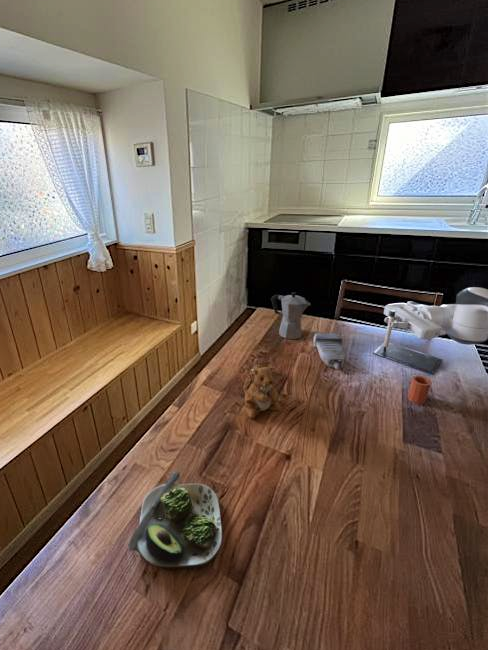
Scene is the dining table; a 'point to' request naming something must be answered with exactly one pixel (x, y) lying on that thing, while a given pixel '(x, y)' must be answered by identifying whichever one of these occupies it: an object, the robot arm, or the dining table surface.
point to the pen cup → (419, 389)
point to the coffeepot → (290, 314)
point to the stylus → (389, 329)
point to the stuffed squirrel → (260, 391)
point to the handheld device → (330, 349)
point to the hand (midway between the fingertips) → (388, 322)
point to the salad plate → (178, 526)
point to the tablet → (409, 357)
